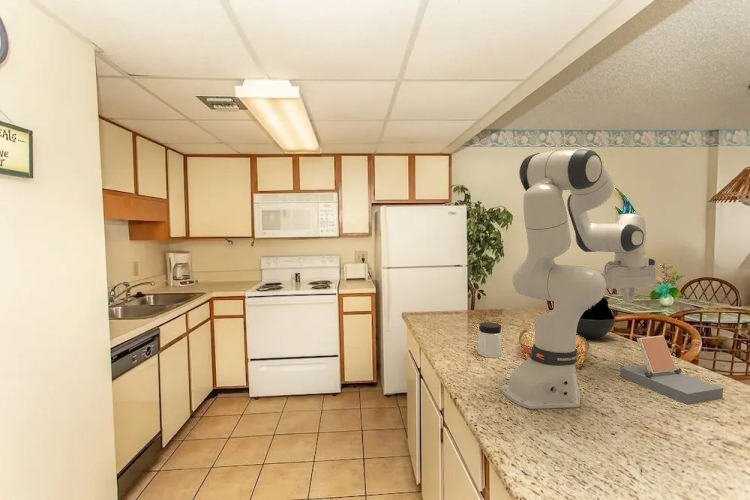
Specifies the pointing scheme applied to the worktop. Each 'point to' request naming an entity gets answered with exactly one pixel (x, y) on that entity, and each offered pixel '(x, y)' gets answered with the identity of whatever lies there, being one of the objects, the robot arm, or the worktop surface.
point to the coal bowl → (596, 320)
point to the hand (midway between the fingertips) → (628, 300)
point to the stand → (673, 384)
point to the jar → (490, 340)
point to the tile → (656, 354)
